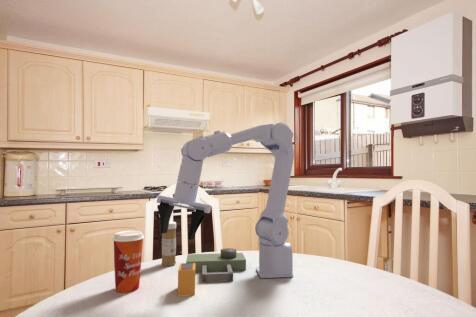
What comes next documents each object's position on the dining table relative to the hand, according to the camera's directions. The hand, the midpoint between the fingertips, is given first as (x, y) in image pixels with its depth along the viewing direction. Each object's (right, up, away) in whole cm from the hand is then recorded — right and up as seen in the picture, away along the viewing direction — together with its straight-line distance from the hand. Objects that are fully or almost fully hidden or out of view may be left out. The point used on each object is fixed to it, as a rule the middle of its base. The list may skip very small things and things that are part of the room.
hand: (177, 235), depth 75 cm
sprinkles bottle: (-7, -14, +19) cm, 25 cm away
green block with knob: (+9, -14, +13) cm, 21 cm away
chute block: (+3, -13, -2) cm, 14 cm away
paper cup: (-12, -13, -1) cm, 18 cm away
